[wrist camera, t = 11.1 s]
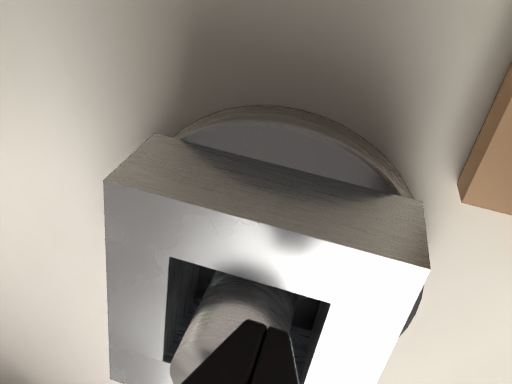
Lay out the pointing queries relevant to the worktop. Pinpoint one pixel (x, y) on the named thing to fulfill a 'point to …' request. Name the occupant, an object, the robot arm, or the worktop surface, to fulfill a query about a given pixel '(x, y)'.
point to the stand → (491, 158)
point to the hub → (289, 155)
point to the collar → (256, 257)
